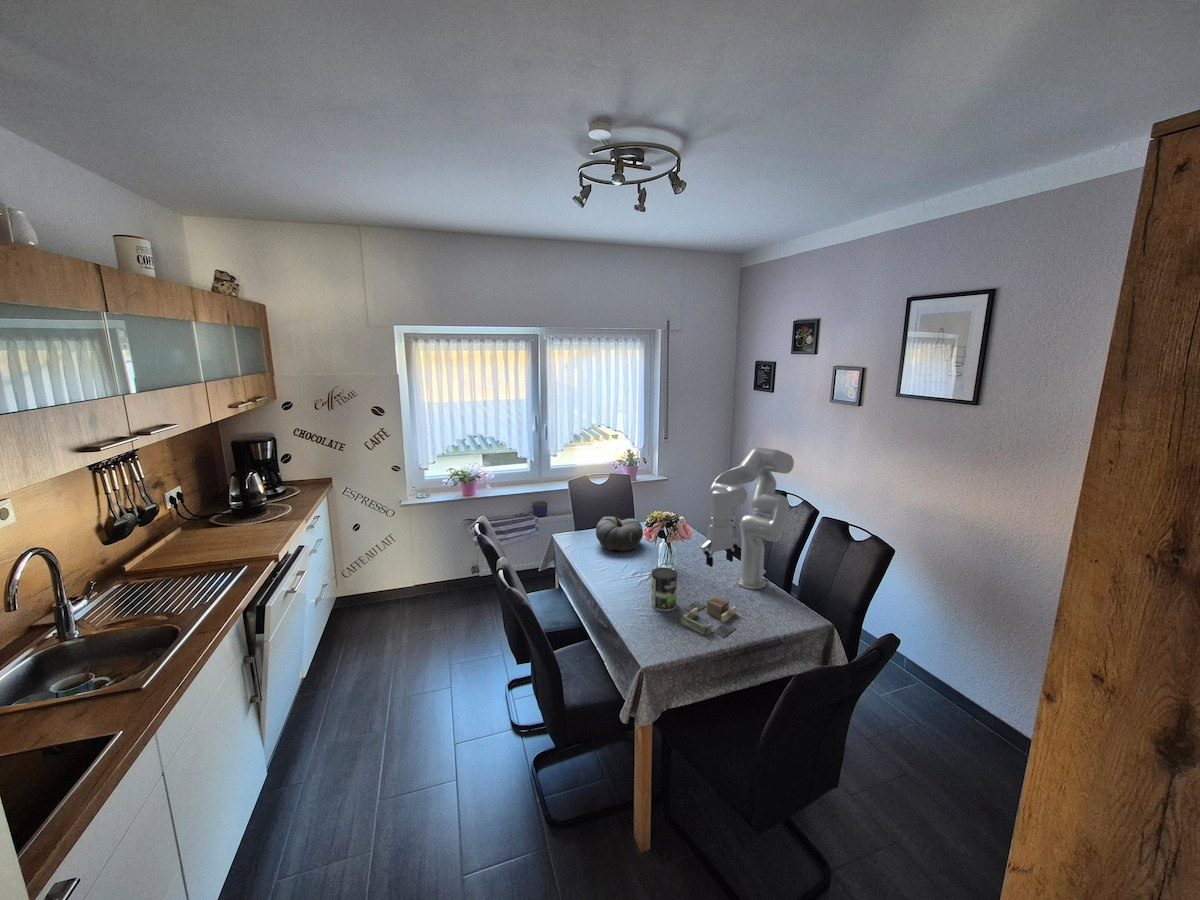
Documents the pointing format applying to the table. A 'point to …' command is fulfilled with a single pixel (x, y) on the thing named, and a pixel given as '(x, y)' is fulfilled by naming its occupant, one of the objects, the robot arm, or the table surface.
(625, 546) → the gourd
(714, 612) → the block
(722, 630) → the trap lane
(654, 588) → the coffee can
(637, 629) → the table surface
